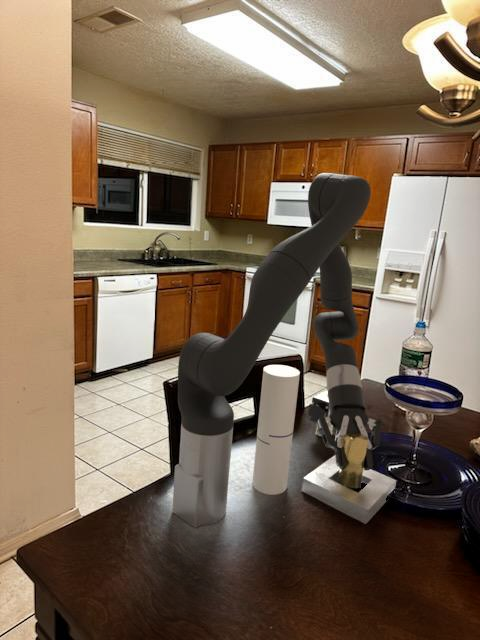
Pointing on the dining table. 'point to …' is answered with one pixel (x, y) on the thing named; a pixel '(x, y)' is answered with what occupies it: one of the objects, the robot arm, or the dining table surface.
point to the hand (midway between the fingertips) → (355, 468)
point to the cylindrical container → (275, 428)
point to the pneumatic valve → (320, 409)
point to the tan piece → (353, 459)
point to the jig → (348, 491)
